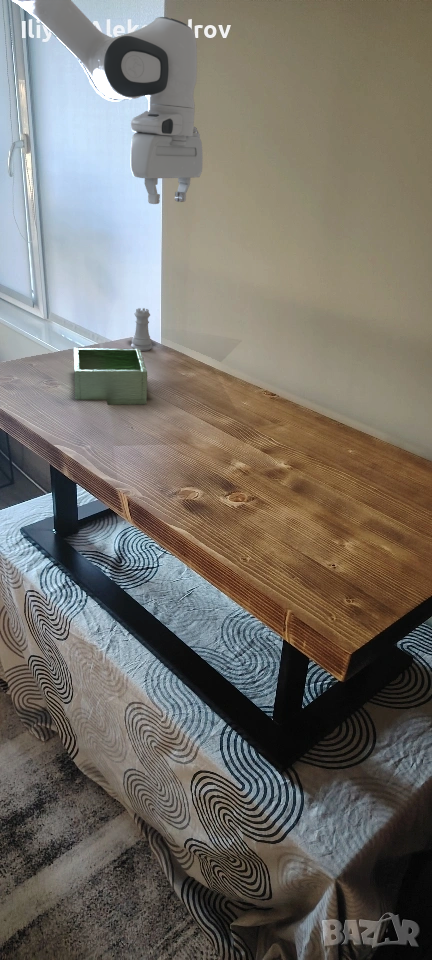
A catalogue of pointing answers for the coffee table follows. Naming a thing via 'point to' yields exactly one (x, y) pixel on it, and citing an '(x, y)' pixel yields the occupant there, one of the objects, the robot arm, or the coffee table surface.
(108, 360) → the green planter box
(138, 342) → the rook chess piece
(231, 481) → the coffee table surface
